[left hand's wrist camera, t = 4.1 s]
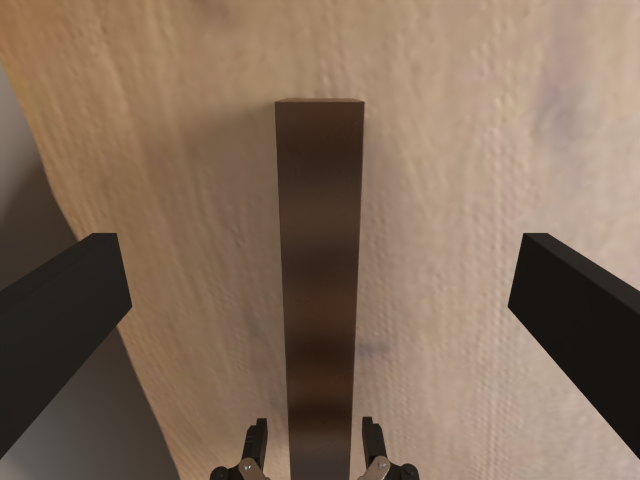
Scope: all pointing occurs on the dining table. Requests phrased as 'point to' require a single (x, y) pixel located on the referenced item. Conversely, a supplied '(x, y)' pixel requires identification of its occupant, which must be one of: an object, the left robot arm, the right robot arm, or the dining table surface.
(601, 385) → the left robot arm
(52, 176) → the dining table surface
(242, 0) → the dining table surface
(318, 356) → the plank
